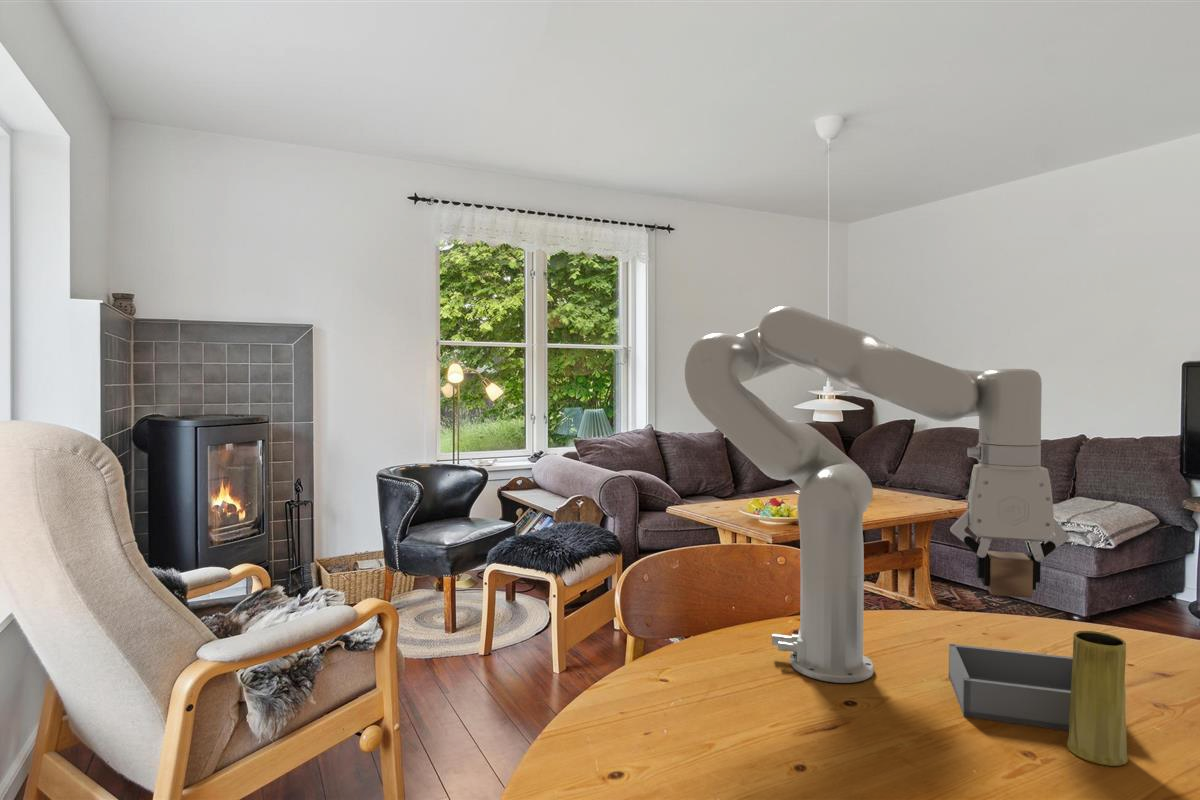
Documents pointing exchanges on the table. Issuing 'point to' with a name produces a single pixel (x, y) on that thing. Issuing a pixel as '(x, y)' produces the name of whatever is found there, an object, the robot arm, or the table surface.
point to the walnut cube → (1010, 574)
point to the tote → (1012, 685)
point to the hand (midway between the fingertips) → (1007, 583)
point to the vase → (1098, 699)
